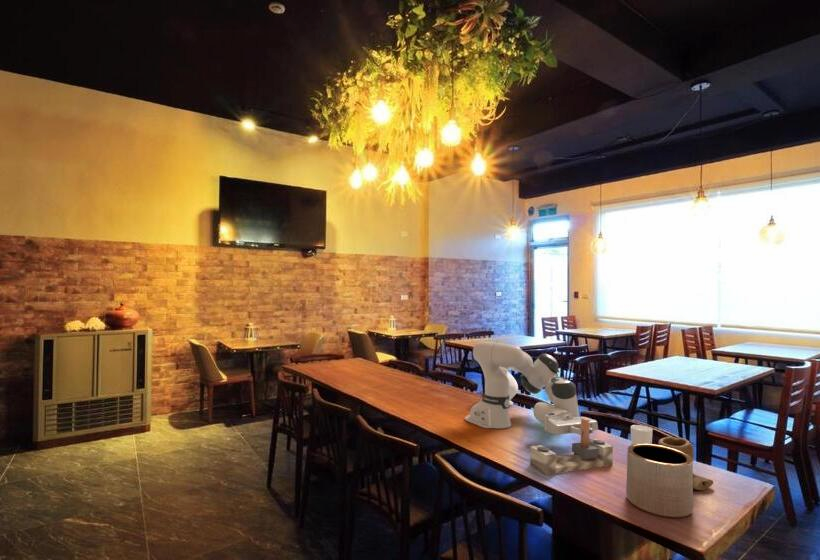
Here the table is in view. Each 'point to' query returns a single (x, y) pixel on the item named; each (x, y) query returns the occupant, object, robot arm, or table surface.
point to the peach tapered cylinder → (585, 443)
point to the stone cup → (687, 448)
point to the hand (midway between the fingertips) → (586, 432)
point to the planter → (660, 480)
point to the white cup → (641, 434)
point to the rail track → (569, 459)
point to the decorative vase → (510, 384)
